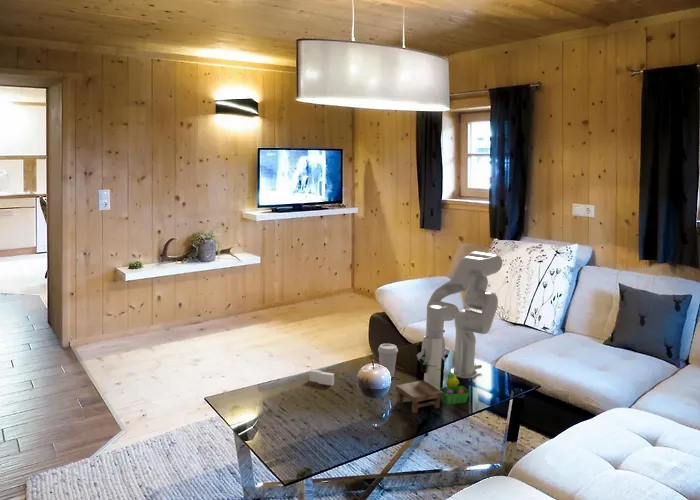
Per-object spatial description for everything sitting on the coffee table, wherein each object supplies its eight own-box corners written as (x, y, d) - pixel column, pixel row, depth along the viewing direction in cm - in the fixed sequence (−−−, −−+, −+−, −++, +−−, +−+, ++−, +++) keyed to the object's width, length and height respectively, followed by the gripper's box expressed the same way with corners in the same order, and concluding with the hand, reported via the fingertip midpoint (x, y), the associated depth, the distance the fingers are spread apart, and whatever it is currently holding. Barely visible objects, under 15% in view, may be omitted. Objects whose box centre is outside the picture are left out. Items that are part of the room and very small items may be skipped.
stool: (422, 395, 249) (423, 380, 248) (441, 408, 237) (442, 392, 236) (395, 400, 243) (395, 385, 242) (413, 414, 231) (414, 397, 230)
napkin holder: (340, 385, 259) (340, 373, 258) (319, 391, 252) (319, 378, 252) (323, 375, 271) (323, 363, 270) (302, 379, 265) (302, 368, 264)
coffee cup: (397, 373, 274) (398, 343, 272) (396, 381, 265) (398, 350, 262) (377, 372, 275) (378, 342, 273) (376, 379, 266) (377, 348, 263)
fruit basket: (445, 406, 239) (447, 380, 237) (436, 397, 248) (438, 372, 246) (470, 403, 242) (471, 378, 240) (460, 395, 251) (462, 371, 249)
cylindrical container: (422, 387, 258) (424, 334, 255) (437, 387, 259) (440, 334, 255) (425, 393, 251) (428, 339, 248) (441, 393, 252) (444, 339, 248)
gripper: (445, 328, 258) (443, 365, 261) (413, 333, 250) (411, 370, 253) (455, 333, 252) (453, 370, 255) (423, 338, 244) (421, 376, 247)
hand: (432, 370), depth 254 cm, fingers open, 9 cm apart
